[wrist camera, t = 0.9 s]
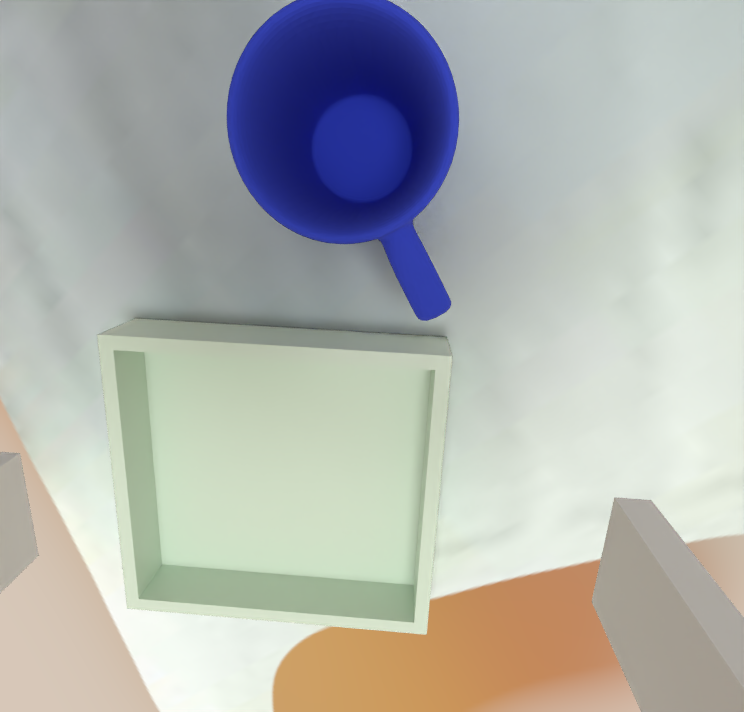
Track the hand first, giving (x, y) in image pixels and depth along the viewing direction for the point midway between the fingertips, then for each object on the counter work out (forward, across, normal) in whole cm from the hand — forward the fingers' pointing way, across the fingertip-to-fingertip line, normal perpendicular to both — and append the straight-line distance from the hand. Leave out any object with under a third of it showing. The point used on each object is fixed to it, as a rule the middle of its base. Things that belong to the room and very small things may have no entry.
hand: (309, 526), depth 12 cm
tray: (+19, -5, -10) cm, 22 cm away
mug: (+20, 0, +7) cm, 21 cm away
